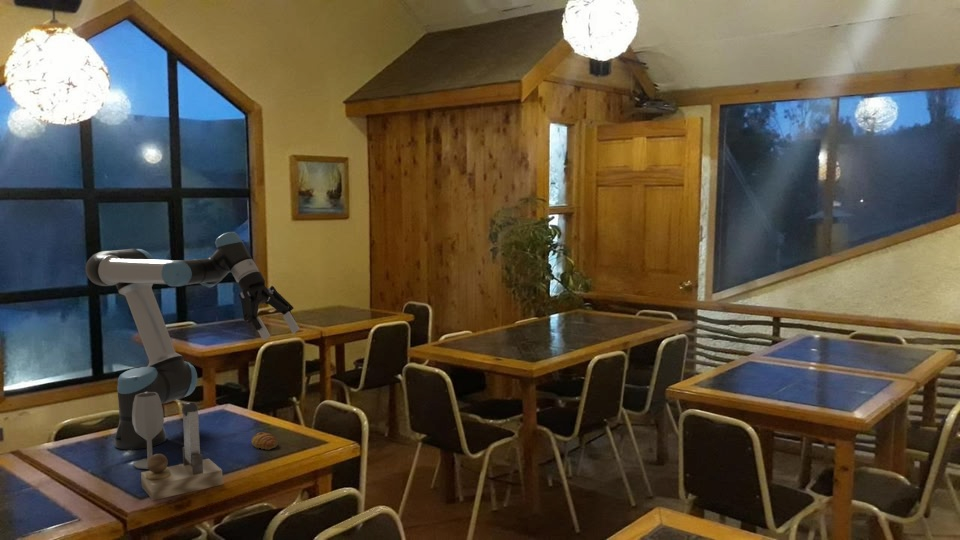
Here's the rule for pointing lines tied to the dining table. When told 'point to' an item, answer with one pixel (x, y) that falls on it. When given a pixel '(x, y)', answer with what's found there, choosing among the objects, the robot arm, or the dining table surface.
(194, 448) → the lever
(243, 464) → the dining table surface
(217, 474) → the nutcracker base
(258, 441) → the pastry
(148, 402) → the wineglass
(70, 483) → the dining table surface
